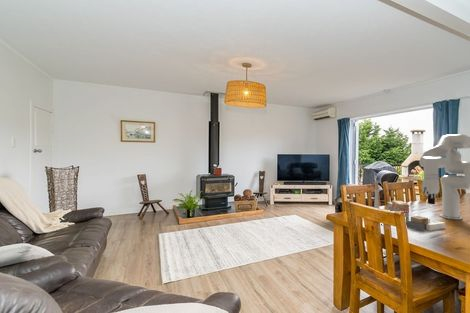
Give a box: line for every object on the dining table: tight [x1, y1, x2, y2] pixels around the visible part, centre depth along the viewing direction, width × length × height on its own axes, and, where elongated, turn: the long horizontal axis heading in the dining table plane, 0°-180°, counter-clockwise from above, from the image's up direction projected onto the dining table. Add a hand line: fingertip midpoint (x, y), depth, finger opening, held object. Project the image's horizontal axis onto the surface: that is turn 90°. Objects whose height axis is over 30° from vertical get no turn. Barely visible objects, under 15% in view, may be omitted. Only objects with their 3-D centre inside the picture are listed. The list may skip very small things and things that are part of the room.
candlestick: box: [373, 180, 380, 210], centre depth 165 cm, size 13×13×30 cm
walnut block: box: [410, 215, 429, 230], centre depth 152 cm, size 7×6×7 cm
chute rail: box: [425, 221, 446, 231], centre depth 150 cm, size 14×2×4 cm, turn 107°
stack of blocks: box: [386, 200, 410, 221], centre depth 177 cm, size 21×6×12 cm, turn 167°
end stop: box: [405, 220, 425, 232], centre depth 151 cm, size 2×10×4 cm, turn 17°
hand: (431, 203), depth 155 cm, fingers closed
